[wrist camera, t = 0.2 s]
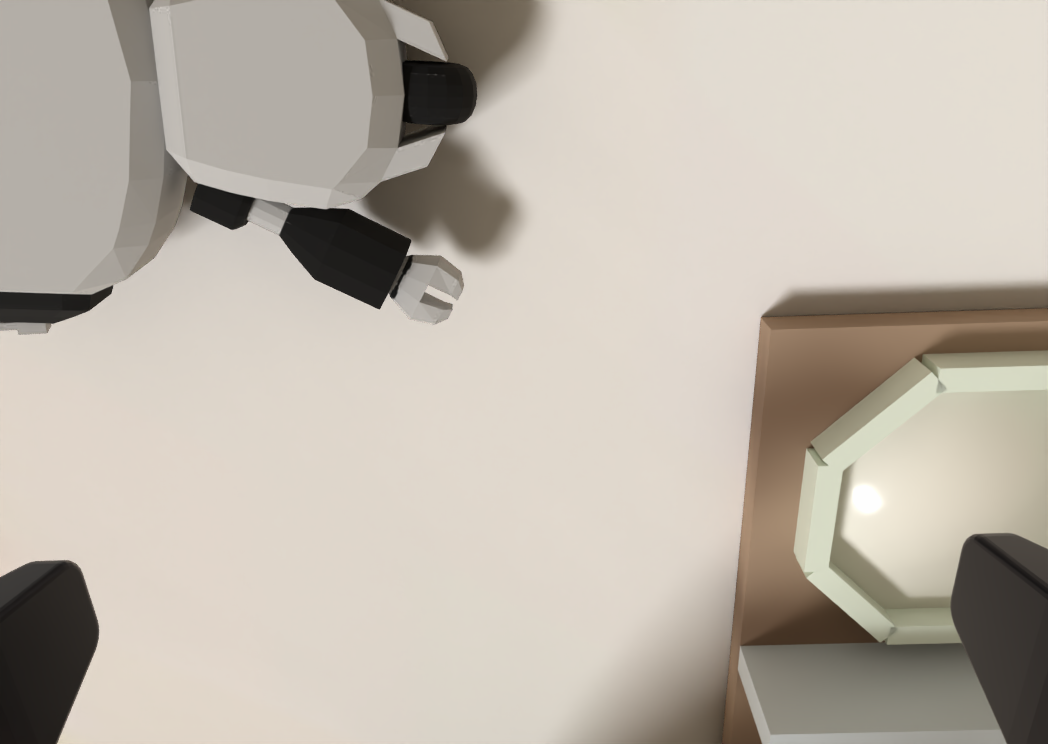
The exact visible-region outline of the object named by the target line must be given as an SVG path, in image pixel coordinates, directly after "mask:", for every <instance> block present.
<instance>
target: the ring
mask: <svg viewBox="0 0 1048 744" xmlns="http://www.w3.org/2000/svg"><path fill="white" fill-rule="evenodd" d="M811 444H812V445H813V447H814V448H810V449H806V456H805V464H804V472H803V479H802V487H801V495H800V503H799V511H798V519H797V527H796V535H795V543H794V553H795V555H796V559H797V561H798V563H799V565H800V567H801V569H802V571H803V573H804V575H805V576H806V578H807V579H808V580H809V581H810V582H811V583H813V584H814V585H815V586H816V587H817V588H818V589H819V590H821V591H822V592H823V593H824V594H825V595H826V596H827V597H829V598H830V599H831V600H832V601H833V602H834V603H835V604H837V605H838V606H839V607H840V608H841V609H842V610H843V611H845V612H846V613H847V614H848V615H849V616H850V617H851V618H853V619H854V620H855V621H856V622H857V623H858V624H859V625H861V626H862V627H863V628H864V629H865V630H866V631H867V632H869V633H870V634H871V635H872V636H873V637H874V638H875V639H877V640H878V641H879V642H882V641H883V640H884V641H885V643H886V644H887V645H898V644H940V643H962V642H961V640H960V637H959V635H958V633H957V631H956V628H955V626H954V623H953V620H952V616H951V609H950V602H951V595H952V590H953V586H954V581H955V577H956V572H957V568H958V563H959V559H960V554H961V550H962V546H963V544H964V542H965V540H966V539H967V538H968V537H969V536H971V535H973V534H985V533H1012V534H1016V535H1019V536H1021V537H1023V538H1025V539H1027V540H1030V541H1032V542H1034V543H1036V544H1038V545H1040V546H1043V547H1045V548H1047V549H1048V350H1042V351H1009V352H977V353H944V354H923V357H922V362H921V363H920V362H919V361H918V360H917V359H916V358H915V357H914V358H913V359H912V360H911V361H909V362H908V363H907V364H906V365H905V366H903V367H902V368H901V369H900V370H898V371H897V372H896V373H895V374H893V375H892V376H891V377H890V378H888V379H887V380H886V381H885V382H884V383H882V384H881V385H880V386H879V387H877V388H876V389H875V390H874V391H872V392H871V393H870V394H869V395H868V396H866V397H865V398H864V399H863V400H861V401H860V402H859V403H858V404H856V405H855V406H854V407H853V408H852V409H850V410H849V411H848V412H847V413H845V414H844V415H843V416H842V417H840V418H839V419H838V420H837V421H836V422H834V423H833V424H832V425H831V426H829V427H828V428H827V429H826V430H824V431H823V432H822V433H821V434H820V435H818V436H817V437H816V438H815V439H813V440H812V441H811Z"/></svg>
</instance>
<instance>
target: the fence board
mask: <svg viewBox="0 0 1048 744" xmlns="http://www.w3.org/2000/svg"><path fill="white" fill-rule="evenodd" d="M1042 350H1048V308H1038V309H1006V310H974V311H943V312H911V313H879V314H848V315H816V316H784V317H761V322H760V333H759V344H758V355H757V365H756V376H755V387H754V398H753V409H752V420H751V431H750V442H749V453H748V464H747V474H746V485H745V496H744V507H743V518H742V529H741V540H740V551H739V562H738V573H737V584H736V594H735V605H734V616H733V627H732V638H731V649H730V660H729V671H728V682H727V693H726V703H725V714H724V725H723V736H722V744H1007V743H1006V741H1005V739H1004V736H1003V734H1002V732H1001V730H1000V727H999V725H998V723H997V721H996V718H995V716H994V714H993V712H992V709H991V707H990V705H989V703H988V700H987V698H986V696H985V694H984V691H983V689H982V687H981V685H980V682H979V680H978V678H977V676H976V673H975V671H974V669H973V667H972V664H971V662H970V660H969V658H968V655H967V653H966V651H965V649H964V646H963V644H962V643H940V644H898V645H887V644H886V643H885V641H884V640H883V641H882V642H879V641H878V640H877V639H875V638H874V637H873V636H872V635H871V634H870V633H869V632H867V631H866V630H865V629H864V628H863V627H862V626H861V625H859V624H858V623H857V622H856V621H855V620H854V619H853V618H851V617H850V616H849V615H848V614H847V613H846V612H845V611H843V610H842V609H841V608H840V607H839V606H838V605H837V604H835V603H834V602H833V601H832V600H831V599H830V598H829V597H827V596H826V595H825V594H824V593H823V592H822V591H821V590H819V589H818V588H817V587H816V586H815V585H814V584H813V583H811V582H810V581H809V580H808V579H807V578H806V576H805V575H804V573H803V571H802V569H801V567H800V565H799V563H798V561H797V559H796V555H795V553H794V543H795V535H796V527H797V519H798V511H799V503H800V495H801V487H802V479H803V472H804V464H805V456H806V449H810V448H814V447H813V445H812V444H811V441H812V440H813V439H815V438H816V437H817V436H818V435H820V434H821V433H822V432H823V431H824V430H826V429H827V428H828V427H829V426H831V425H832V424H833V423H834V422H836V421H837V420H838V419H839V418H840V417H842V416H843V415H844V414H845V413H847V412H848V411H849V410H850V409H852V408H853V407H854V406H855V405H856V404H858V403H859V402H860V401H861V400H863V399H864V398H865V397H866V396H868V395H869V394H870V393H871V392H872V391H874V390H875V389H876V388H877V387H879V386H880V385H881V384H882V383H884V382H885V381H886V380H887V379H888V378H890V377H891V376H892V375H893V374H895V373H896V372H897V371H898V370H900V369H901V368H902V367H903V366H905V365H906V364H907V363H908V362H909V361H911V360H912V359H913V358H914V357H915V358H916V359H917V360H918V361H919V362H920V363H921V362H922V357H923V354H944V353H977V352H1009V351H1042Z"/></svg>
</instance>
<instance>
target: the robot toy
mask: <svg viewBox="0 0 1048 744" xmlns="http://www.w3.org/2000/svg"><path fill="white" fill-rule="evenodd" d="M405 43H407V44H409V45H412V46H414V47H416V48H418V49H420V50H422V51H425V52H427V53H429V54H431V55H433V56H436V57H438V58H440V59H442V60H444V61H446V62H447V60H448V55H447V53H446V51H445V49H444V46H443V44H442V42H441V40H440V37H439V35H438V33H437V31H436V28H435V26H434V24H433V22H432V21H430V20H428V19H426V18H424V17H422V16H419V15H417V14H415V13H413V12H411V11H409V10H407V9H405V8H402V7H400V6H398V5H396V4H394V3H392V2H390V1H388V0H0V331H3V330H18V334H19V335H23V334H41V333H47V332H48V331H49V329H50V327H51V323H52V324H54V323H57V322H60V321H63V320H66V319H69V318H72V317H74V316H77V315H79V314H82V313H85V312H87V311H89V310H91V309H92V308H93V307H95V306H96V305H97V304H98V303H100V302H101V301H102V300H104V299H105V298H106V297H108V296H109V295H110V294H111V293H112V289H113V285H114V284H117V283H119V282H121V281H124V280H126V279H127V278H129V277H130V276H131V275H133V274H134V273H135V272H137V271H138V270H139V269H140V268H142V267H143V266H144V265H146V264H147V263H148V262H150V261H151V260H152V259H154V258H155V256H156V255H157V253H158V252H159V250H160V249H161V247H162V246H163V244H164V242H165V241H166V239H167V238H168V236H169V235H170V233H171V232H172V230H173V229H174V227H175V225H176V222H177V219H178V216H179V213H180V210H181V207H182V203H183V198H184V192H185V187H186V181H187V176H188V175H189V176H190V177H191V179H192V180H193V181H194V182H196V183H198V186H197V188H196V191H195V194H194V196H193V200H192V203H191V207H190V211H193V212H195V213H197V214H199V215H201V216H203V217H205V218H208V219H210V220H212V221H214V222H216V223H218V224H220V225H223V226H225V227H227V228H229V229H231V230H233V229H237V228H240V227H242V226H244V225H246V224H247V222H248V221H250V222H252V223H254V224H256V225H258V226H260V227H263V228H265V229H267V230H269V231H271V232H273V233H275V234H277V235H279V236H280V237H281V239H282V240H283V241H284V243H285V244H286V245H287V247H288V248H289V249H290V251H291V252H292V253H293V255H294V256H295V257H296V258H297V259H298V260H299V262H300V263H301V264H302V265H303V266H304V268H305V269H306V270H307V271H308V272H309V273H310V275H311V276H312V277H313V278H314V279H315V280H317V281H319V282H321V283H323V284H326V285H328V286H330V287H332V288H334V289H336V290H338V291H341V292H343V293H345V294H347V295H349V296H351V297H354V298H356V299H358V300H360V301H362V302H364V303H366V304H369V305H371V306H373V307H375V308H377V309H379V310H380V308H381V306H382V304H383V302H384V300H385V298H386V296H387V295H388V293H389V295H390V297H391V298H392V299H393V301H394V302H395V303H396V304H397V305H398V307H399V308H400V309H401V310H402V311H403V313H404V314H405V315H406V316H407V317H408V319H411V320H416V321H420V322H424V323H429V324H433V325H434V324H437V323H439V322H442V321H444V320H446V319H448V317H449V315H450V313H451V312H452V310H453V309H452V305H453V304H450V303H447V302H444V301H442V300H439V299H437V298H435V297H433V296H431V295H429V294H427V293H425V290H426V288H427V286H428V285H430V286H432V287H434V288H436V289H438V290H440V291H442V292H444V293H447V294H449V295H451V296H452V297H454V298H455V299H456V300H458V298H459V296H460V294H461V293H462V290H463V287H464V283H463V278H462V273H461V271H460V270H458V269H457V268H456V267H455V266H453V265H452V264H451V263H450V262H448V261H447V260H446V259H445V258H443V257H442V256H433V255H410V256H406V255H407V252H408V249H409V246H410V243H411V240H410V239H409V238H406V237H404V236H402V235H400V234H398V233H396V232H394V231H392V230H390V229H388V228H386V227H384V226H382V225H380V224H378V223H376V222H374V221H372V220H370V219H368V218H366V217H364V216H362V215H360V214H358V213H356V212H354V211H352V210H350V209H339V208H332V207H336V206H339V205H343V204H346V203H350V202H353V201H356V200H360V199H362V198H363V197H364V196H365V195H367V194H368V193H369V192H370V191H371V190H372V189H373V188H374V187H375V186H377V185H378V184H379V183H380V182H382V181H385V180H388V179H391V178H394V177H397V176H400V175H403V174H406V173H409V172H413V171H416V170H419V169H422V168H425V167H427V166H428V165H429V163H430V161H431V159H432V157H433V155H434V153H435V151H436V149H437V147H438V146H439V144H440V142H441V140H442V138H443V136H444V134H445V132H446V125H452V124H459V123H463V122H465V121H466V120H467V119H468V118H469V117H470V116H471V115H472V113H473V110H474V108H475V106H476V99H477V88H476V82H475V79H474V76H473V74H472V73H471V71H470V70H469V69H468V68H467V67H465V66H463V65H460V64H455V63H446V62H433V61H410V60H407V55H406V46H405ZM406 122H407V123H414V124H426V125H432V126H429V127H426V128H423V129H420V130H417V131H414V132H411V133H408V134H405V127H406ZM285 203H286V204H285ZM287 204H293V205H300V206H306V207H313V208H293V207H291V206H289V205H287Z"/></svg>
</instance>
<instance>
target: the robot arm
mask: <svg viewBox="0 0 1048 744" xmlns="http://www.w3.org/2000/svg"><path fill="white" fill-rule="evenodd" d="M950 609H951V616H952V620H953V623H954V626H955V628H956V631H957V633H958V635H959V637H960V640H961V642H962V644H963V646H964V649H965V651H966V653H967V655H968V658H969V660H970V662H971V664H972V667H973V669H974V671H975V673H976V676H977V678H978V680H979V682H980V685H981V687H982V689H983V691H984V694H985V696H986V698H987V700H988V703H989V705H990V707H991V709H992V712H993V714H994V716H995V718H996V721H997V723H998V725H999V727H1000V730H1001V732H1002V734H1003V736H1004V739H1005V741H1006V743H1007V744H1048V549H1047V548H1045V547H1043V546H1040V545H1038V544H1036V543H1034V542H1032V541H1030V540H1027V539H1025V538H1023V537H1021V536H1019V535H1016V534H1012V533H985V534H973V535H971V536H969V537H968V538H967V539H966V540H965V542H964V544H963V546H962V550H961V554H960V559H959V563H958V568H957V572H956V577H955V581H954V586H953V590H952V595H951V602H950ZM98 639H99V625H98V620H97V617H96V614H95V611H94V607H93V604H92V601H91V598H90V595H89V592H88V589H87V586H86V582H85V579H84V576H83V573H82V571H81V569H80V568H79V566H78V565H77V564H76V563H74V562H72V561H69V560H58V561H34V562H30V563H27V564H25V565H23V566H21V567H19V568H17V569H15V570H13V571H11V572H9V573H7V574H6V575H4V576H2V577H0V744H57V742H58V740H59V737H60V735H61V733H62V730H63V728H64V725H65V723H66V721H67V718H68V716H69V713H70V711H71V708H72V706H73V704H74V701H75V699H76V696H77V694H78V691H79V689H80V687H81V684H82V682H83V679H84V677H85V675H86V672H87V670H88V667H89V665H90V662H91V660H92V658H93V655H94V653H95V650H96V647H97V643H98Z"/></svg>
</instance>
